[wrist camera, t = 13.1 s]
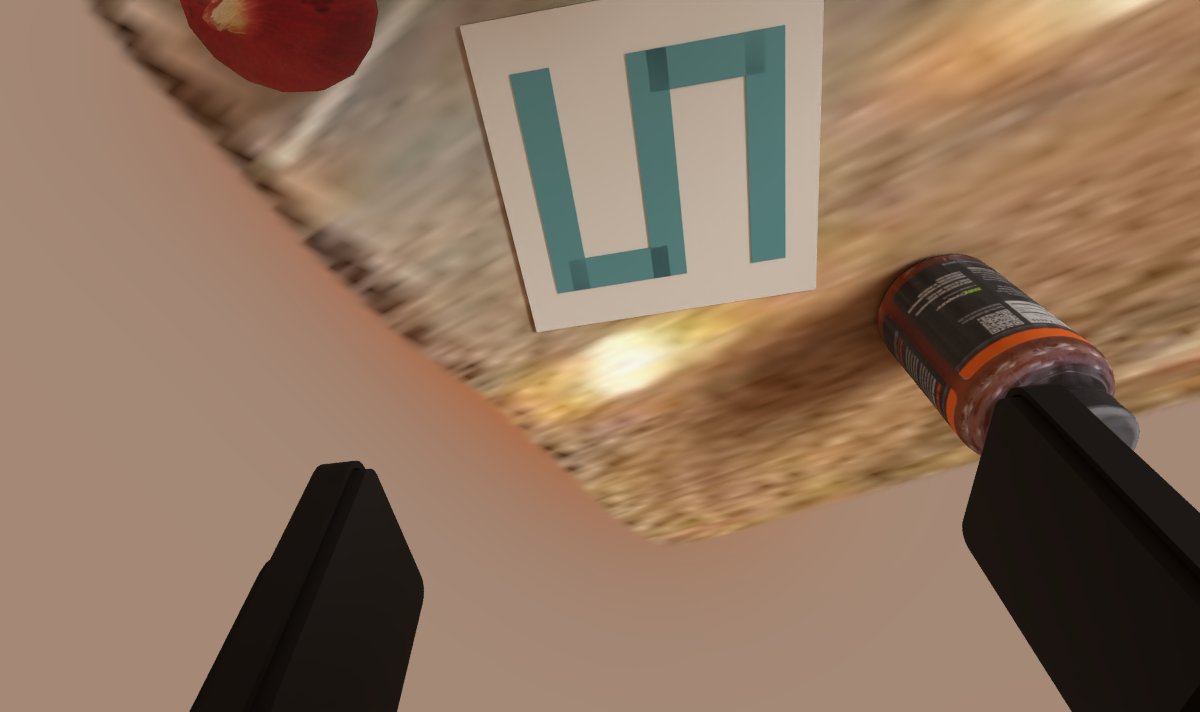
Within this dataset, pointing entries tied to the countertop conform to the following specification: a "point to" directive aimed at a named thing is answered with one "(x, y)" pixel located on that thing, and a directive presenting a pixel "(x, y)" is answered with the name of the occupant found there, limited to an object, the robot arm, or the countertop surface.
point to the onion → (286, 38)
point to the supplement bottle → (988, 346)
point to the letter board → (655, 151)
